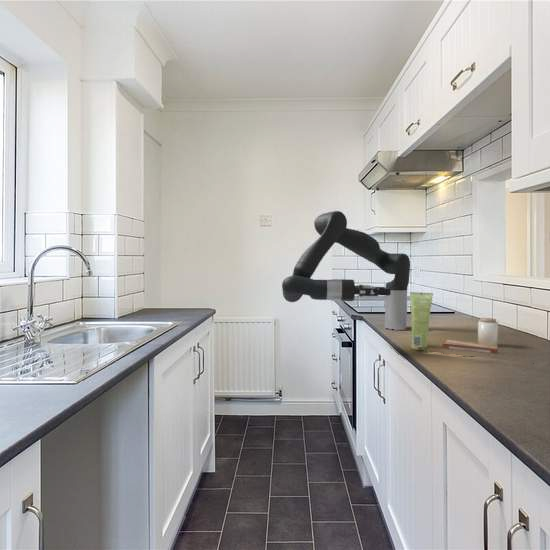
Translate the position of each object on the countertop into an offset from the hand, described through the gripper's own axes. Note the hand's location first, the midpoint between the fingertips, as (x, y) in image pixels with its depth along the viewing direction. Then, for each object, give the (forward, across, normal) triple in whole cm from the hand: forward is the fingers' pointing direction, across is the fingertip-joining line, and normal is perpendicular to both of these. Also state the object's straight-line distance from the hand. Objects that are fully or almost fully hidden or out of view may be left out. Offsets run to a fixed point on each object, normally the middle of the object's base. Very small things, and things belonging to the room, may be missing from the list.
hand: (387, 291), depth 131 cm
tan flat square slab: (+29, +2, +20) cm, 35 cm away
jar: (+35, +4, +18) cm, 40 cm away
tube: (+11, 0, +20) cm, 23 cm away
